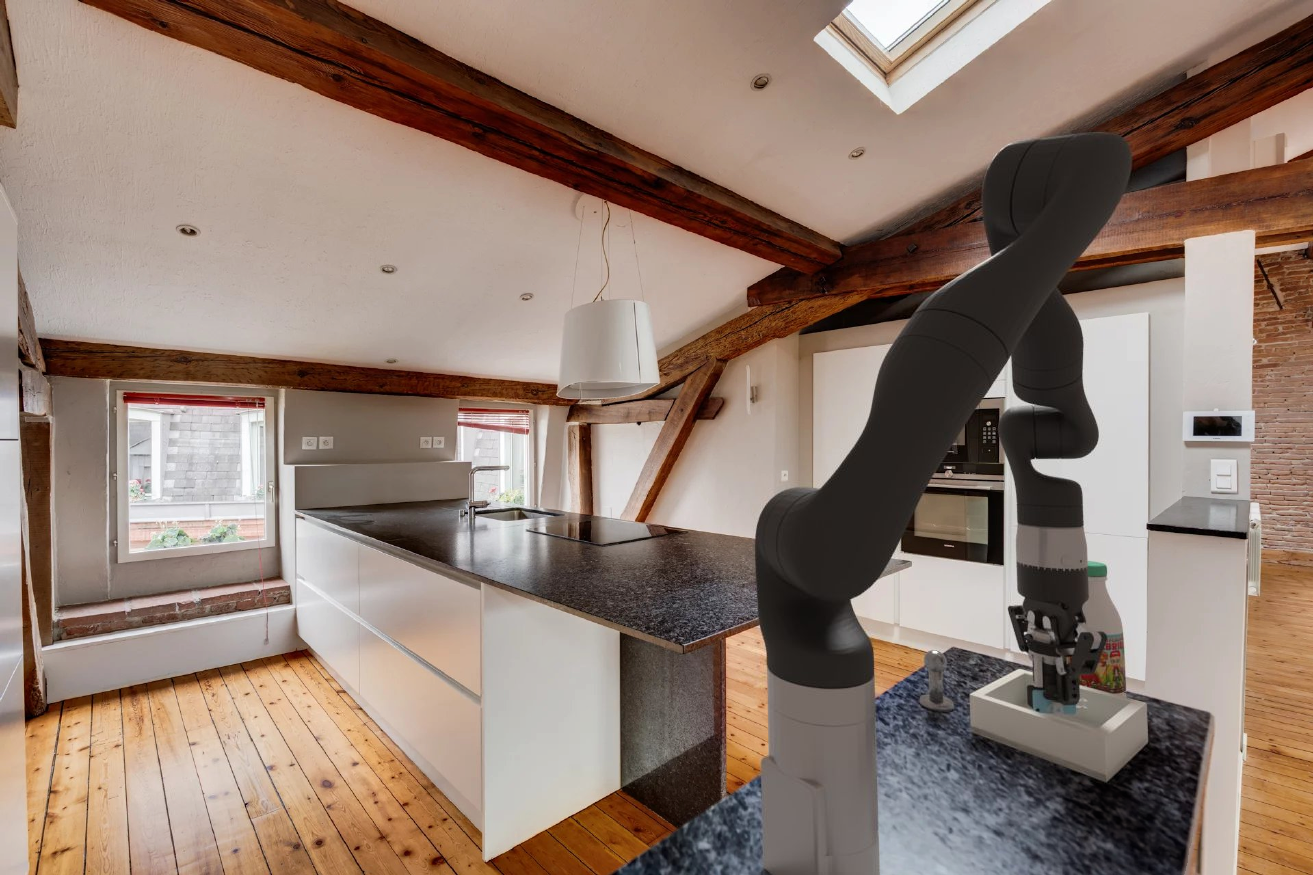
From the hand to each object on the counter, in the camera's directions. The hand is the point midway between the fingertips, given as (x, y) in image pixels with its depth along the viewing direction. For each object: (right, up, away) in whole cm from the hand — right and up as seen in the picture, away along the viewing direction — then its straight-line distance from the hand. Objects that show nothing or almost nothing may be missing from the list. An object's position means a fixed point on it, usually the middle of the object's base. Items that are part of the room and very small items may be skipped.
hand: (1055, 696), depth 72 cm
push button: (0, -2, 0) cm, 2 cm away
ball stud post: (-10, -6, +10) cm, 15 cm away
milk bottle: (+12, -5, +9) cm, 16 cm away
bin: (0, -5, 0) cm, 5 cm away
